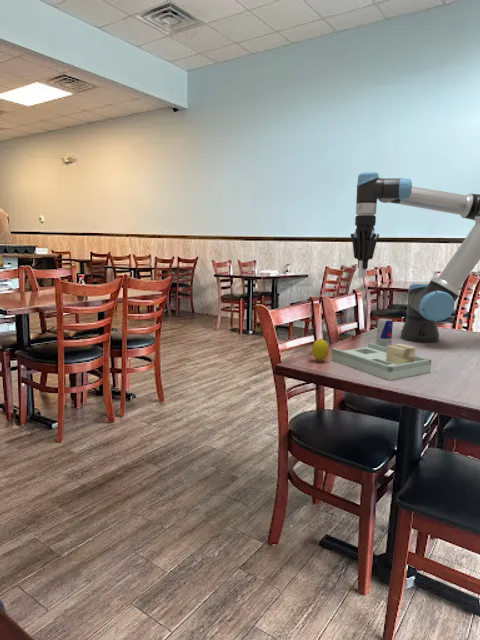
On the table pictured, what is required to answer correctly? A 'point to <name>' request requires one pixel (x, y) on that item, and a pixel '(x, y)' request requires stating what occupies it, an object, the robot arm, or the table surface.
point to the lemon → (320, 349)
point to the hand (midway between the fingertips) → (362, 277)
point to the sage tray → (380, 362)
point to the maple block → (400, 354)
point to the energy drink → (384, 332)
